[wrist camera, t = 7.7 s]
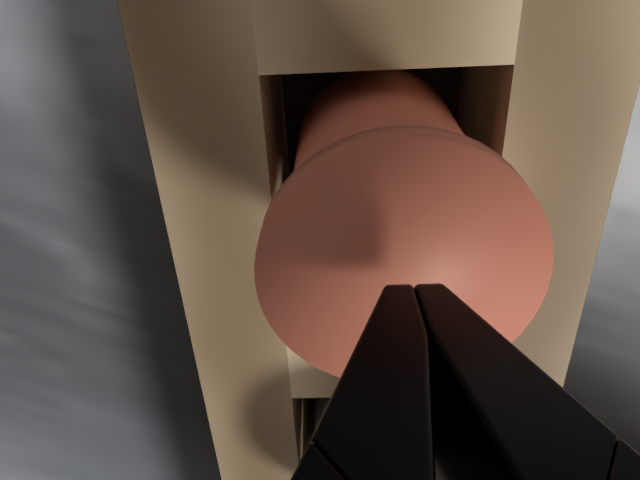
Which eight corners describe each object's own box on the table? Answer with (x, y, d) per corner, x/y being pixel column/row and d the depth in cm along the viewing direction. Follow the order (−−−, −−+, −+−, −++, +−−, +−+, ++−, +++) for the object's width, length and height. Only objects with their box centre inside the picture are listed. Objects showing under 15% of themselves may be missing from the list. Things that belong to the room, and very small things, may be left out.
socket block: (270, 550, 27) (260, 655, 23) (176, -24, 14) (116, -2, 10) (471, 549, 27) (495, 655, 23) (571, -44, 14) (668, -28, 10)
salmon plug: (290, 230, 15) (268, 389, 10) (275, 53, 13) (236, 144, 8) (461, 224, 15) (528, 384, 10) (479, 45, 13) (582, 132, 7)
